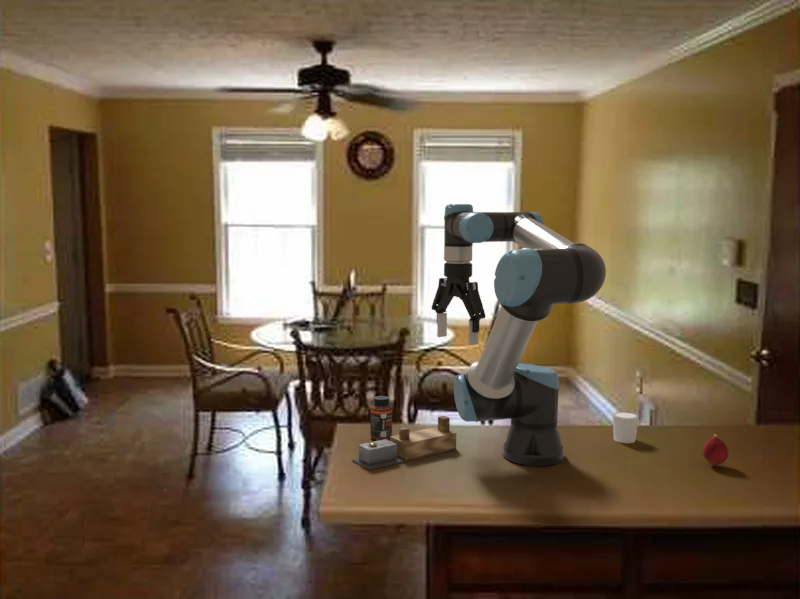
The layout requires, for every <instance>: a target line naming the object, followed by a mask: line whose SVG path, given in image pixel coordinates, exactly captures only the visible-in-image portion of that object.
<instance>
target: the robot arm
mask: <svg viewBox="0 0 800 599" xmlns="http://www.w3.org/2000/svg"><path fill="white" fill-rule="evenodd" d="M443 220H444V237H443V239H444V241H443V242H444V246H443V247H444V248H443V261H445V263H444V264H443V275H444V277H440V278H439V279H438V286H437V290H436V292H435V295H434V296H435V297H434V298H433V302H432V304H431V310H432V311H435V313H436V326H437V327H436V328H437V330H436V331H437V332H436V333H437V335H436V336H437V338H444V337H447V335H448V333H447V332H448V322H447V321H448V313H447V312H448V311H447V309H448V306H449V305H450V303H451V302H452V300H453V299H454V298H455V297H456V298H459V299H460V300H461V302H462V303H463V305H464V307H465V309H466V312H467V313H468V316H469V319H468V335H467V336H468V341H467V342H468V345H469V346H473V345H475V346H476V345H479V333H480V321H481V320H482V319H486V312H485V309H484V306H483V302H482V299H481V296H480V291H479V284H478V282H477V281H472V282H471V281H470V278H471V277H472V276H473V263H472V261H473V244H479V243H480V244H481V243H489V242H490V243H494V242H495V243H496V242H497V243H499V242H500V243H502V242H504V243H505V242H508V243H509V242H511V243H512V242H513V243H515V244H517V245H518V246H519V247H521V248H519V249H512V250H509V251H507V252H505V253H504V254H503V255H502V256H501V257H500V258H499V260H498V262H497V265H496V267H495V272H494V276H495V277H494V278H495V279H494V280H493V288H494V294H495V296H496V298H497V301H498V302H499V305H500V308H499V311H498V313H497V316H496V318H495V320H494V323H493V325H492V328H491V330H490V333H489V335H488V338H487V340H486V343H485V346H484V348H483V351H482V353H481V355H480V357H479V360H476V361H475V362H473V363H472V364H471V365H470V367H469V368H468V371H467V373H466V374H465V373H464V374H463V373H460V374H457V375H456V376H455V377H454V381H453V396H454V402H455V406H456V410H457V413H458V415H459V417H460V418H461V419H462V420H463V421H464V422H465V423H466V422H469V423H470V422H471V423H472V422H476V423H478V422H489V421H499V420H510V426H509V429H508V431H507V436H506V441H505V442H503V443H504V444H503V450H502V456H503V458H505V459H506V460H508V461H510V462H512V463H515V464H518V465H519V464H520V465H525V466H534V467H535V466H536V467H543V466H552V465H556V464H559V463H561V462H563V460H564V459H565V456H564V454H565V452H564V446H563V445H562V440H561V436H560V433H559V429H558V420H559V419H558V418H559V397H560V396H559V394H560V393H559V391H560V385H559V384H560V381H559V375H558V373H557V372H556V371H555V370H553V369H552V368H549V367H545V366H543V365H542V366H541V365H538V364H537V365H536V364H531V363H529V364H528V363H520V360H521V359H522V356H523V354H524V352H525V350H526V348H527V346H528V344H529V341H530V340H531V337H532V334H533V333H534V330H535V328H536V326H537V324H538V322H541V321H543V320H545V319H546V318H547V317H548V316H549V315H550V313H551V311H552V309H553V307H554V305H566V304H567V305H568V304H579V303H582V302H585V301H588V300H590V299H591V298H593V297H594V296H596V295H597V293H598V292H599V291H600V290H601V289H602V288H603V285H604V283H605V281H606V280H605V279H606V275H607V274H606V273H607V269H606V264H605V261H604V259H603V258H602V256H601V255H600V253H599V252H598V251H596V250H595V249H594V248H592V247H590V246H589V245H587V244H585V243H581V242H573V241H571V240H570V239H568V238H566V237H565V236H562V235H561V234H559V233H558V232H556V231H554V230H553V229H552V228H550V227H548V226H547V225H545V224H544V219H543V218H542V215H540V213H538V212H530V211H528V210H527V211H509V212H508V211H503V212H502V211H500V212H498V211H495V212H494V211H493V212H492V211H490V212H489V211H485V212H484V211H481V212H480V211H474V207H473V205H472V204H470V203H448V204H445V207H444V216H443Z"/></svg>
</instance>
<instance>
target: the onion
mask: <svg viewBox="0 0 800 599" xmlns="http://www.w3.org/2000/svg"><path fill="white" fill-rule="evenodd" d="M702 447H703V448H702V455H703V457H704V458H705V460H706V461H707V462H708V463H709V464H710V465H711V466H712V467H717V466H719V465H721V464H724V462H726V461H727V459H728V458H729V448H728V447H727V444H725V442H724V440H723V439H721V438H720V437H719V436H718V435H717V434H715V433H714V434H713V437H712V438H710V439H708V440H707V441H706V442H705V443H704V445H703V446H702Z"/></svg>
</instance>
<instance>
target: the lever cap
mask: <svg viewBox="0 0 800 599" xmlns="http://www.w3.org/2000/svg"><path fill="white" fill-rule="evenodd" d="M358 458H359V461H361V462H363V463H365V464H367V465H369V466H372V465H376V464H381V463H385V462H390V461H394V460H397V458H398V457H397V444H395V443H393V442H391V441H390V439H388V440H387V439H384V440H374V441H370V442H365V443H360V444H358Z"/></svg>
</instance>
